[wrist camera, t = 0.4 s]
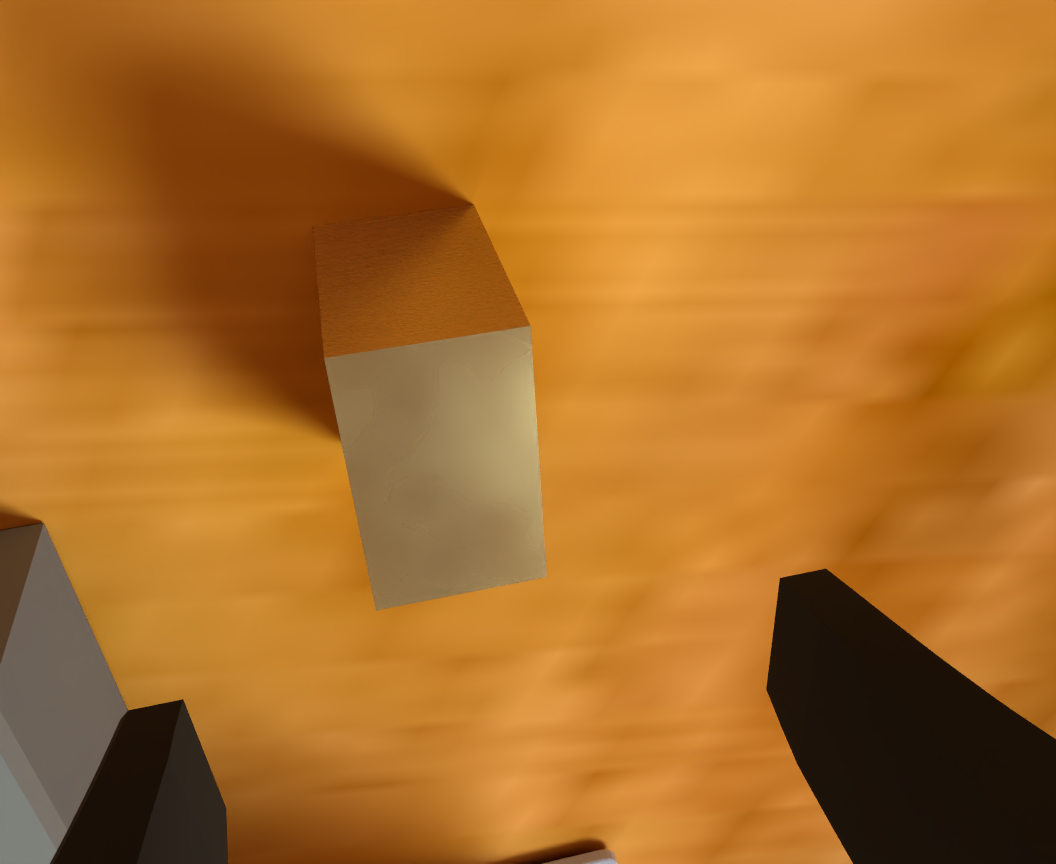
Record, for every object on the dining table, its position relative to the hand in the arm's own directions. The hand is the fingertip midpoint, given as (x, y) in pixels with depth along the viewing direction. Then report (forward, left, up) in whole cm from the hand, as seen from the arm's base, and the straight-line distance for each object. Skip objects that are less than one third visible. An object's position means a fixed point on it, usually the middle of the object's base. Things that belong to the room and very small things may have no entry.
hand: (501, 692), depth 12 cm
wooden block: (0, 0, -10) cm, 10 cm away
